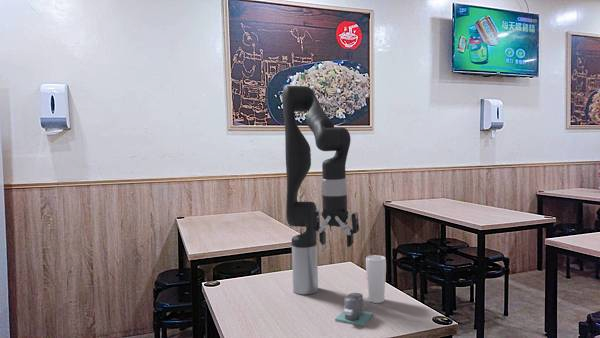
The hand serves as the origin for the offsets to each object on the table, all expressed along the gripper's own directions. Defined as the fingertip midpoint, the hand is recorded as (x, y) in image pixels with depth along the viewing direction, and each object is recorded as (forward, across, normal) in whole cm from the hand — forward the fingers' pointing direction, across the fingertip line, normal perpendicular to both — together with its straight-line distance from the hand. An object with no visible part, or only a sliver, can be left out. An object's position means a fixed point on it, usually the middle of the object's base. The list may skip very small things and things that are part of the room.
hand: (336, 245), depth 127 cm
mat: (+23, -5, -1) cm, 23 cm away
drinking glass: (+24, -7, -17) cm, 30 cm away
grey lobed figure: (+22, -5, -1) cm, 23 cm away
